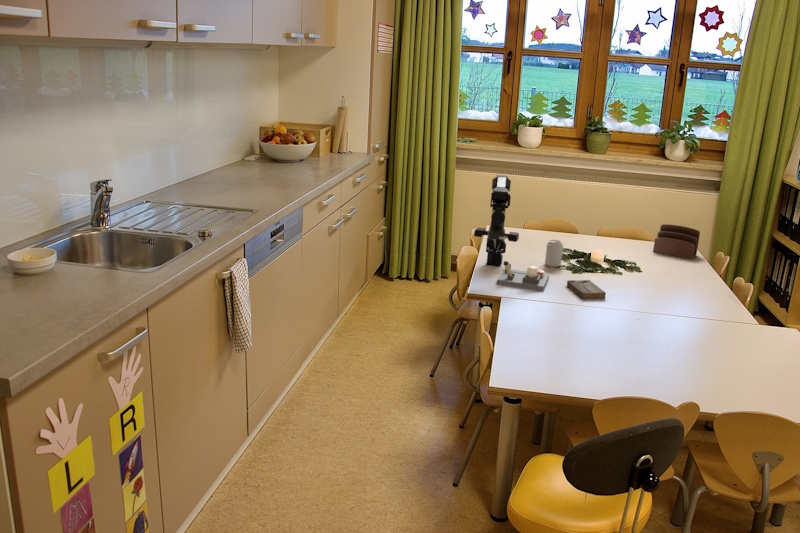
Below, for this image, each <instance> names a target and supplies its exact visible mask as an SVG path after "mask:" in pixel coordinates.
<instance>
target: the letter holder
mask: <svg viewBox="0 0 800 533" xmlns="http://www.w3.org/2000/svg"><path fill="white" fill-rule="evenodd" d="M700 234H701V232H700V230H698V229H696V228H691V227H687V226H684V225H676V224H675V225H674V224H667V223H666V224H663V223H662V224H661V225H660V229H659V231H658V232H657V236H656V237H655V239H654V244H653V248H652V249H653V250H652V252H653V253H657V254H662V255H667V256H673V257H678V258H684V259H688V260H693V259H694V258H695V257H696V256H697V254H698V247H699V241H700V236H701V235H700Z"/></svg>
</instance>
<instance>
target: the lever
mask: <svg viewBox="0 0 800 533" xmlns="http://www.w3.org/2000/svg"><path fill="white" fill-rule="evenodd" d="M502 264H503V265H504V269H505V268H506V271H507V274H508V275H510V276H512V274H511V271H510V268H509V265H508V264H510V263H509V261H508V260H505V261H503V262H502Z"/></svg>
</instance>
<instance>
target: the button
mask: <svg viewBox="0 0 800 533" xmlns="http://www.w3.org/2000/svg"><path fill="white" fill-rule="evenodd" d="M538 269H539V267H538V266H534V265H533V266H532V265H529V266H527V270H526V271H527V277H529V278H537V273H538Z"/></svg>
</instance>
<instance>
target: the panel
mask: <svg viewBox="0 0 800 533" xmlns="http://www.w3.org/2000/svg"><path fill="white" fill-rule="evenodd" d="M501 271H502V272H501V273H500V274H499V276H498V277H497V279H496V285H500V286H508V287H513V288H514V287H515V288H520V289H525V290H535V291H540V292H544V290H545V288H546V286H547V283H548V282H549V279H550V274H548V273H544V274H543V276H542V277H541V275H537V278H529V277H527V270H519V269H512V268H511V270H510V271H511V274H512V276H510V275H508V274H507V271H505V268H504V269H502V270H501Z"/></svg>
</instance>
